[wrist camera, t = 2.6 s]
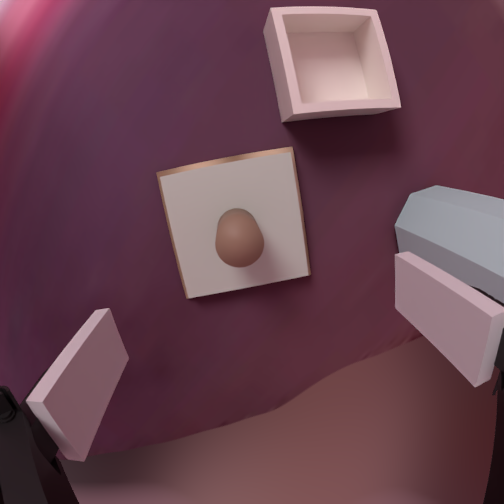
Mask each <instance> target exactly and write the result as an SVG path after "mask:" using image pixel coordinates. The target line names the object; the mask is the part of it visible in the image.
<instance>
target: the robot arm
mask: <svg viewBox="0 0 504 504" xmlns="http://www.w3.org/2000/svg"><path fill="white" fill-rule="evenodd" d="M395 308H396V309H397V310H398V311H399V312H400V313H401V314H402V315H403V316H404V317H405V318H406V319H407V320H408V321H409V322H410V323H412V324H413V325H414V326H415V327H416V328H417V329H418V330H419V331H420V332H421V333H422V334H423V335H424V336H425V337H426V338H427V339H428V340H429V341H430V342H431V343H432V344H433V345H434V346H435V347H436V348H437V349H438V350H439V351H440V352H441V353H442V354H443V355H444V356H445V357H446V358H447V359H448V360H449V361H450V362H451V363H452V364H453V365H454V366H455V367H456V368H457V369H458V370H459V371H460V372H461V373H462V374H463V375H464V376H465V377H466V378H467V380H468V381H469V382H470V383H472V385H473V386H474V387H477V386H478V385H480V384H482V383H484V382H486V381H488V380H489V379H490V378H491V375H492V371H493V368H494V365H495V366H496V367H497V368H499V369H500V373H499V376H498V379H497V382H496V385H495V388H494V391H493V394H492V395H495V393H496V391H497V390H498V395H497V416H496V428H495V439H494V447H493V455H492V461H491V467H490V473H489V478H488V484H487V488H486V493H485V498H484V502H483V504H504V303H502V302H501V301H499V300H497V299H495V298H494V297H493V296H491V295H488V293H486V292H484V291H483V290H481V289H479V288H476V287H473V286H469V285H467V284H465V283H464V282H462V281H460V280H459V279H457V278H455V277H453V276H452V275H450V274H448V273H447V272H445V271H443V270H441V269H440V268H438V267H436V266H434V265H433V264H431V263H429V262H427V261H425V260H424V259H422V258H420V257H418V256H416V255H415V254H413V253H411V252H409V251H407V252H402V253H398V254H395ZM128 359H129V357H128V355H127V352H126V350H125V348H124V345H123V343H122V340H121V338H120V335H119V332H118V330H117V327H116V325H115V322H114V319H113V316H112V314H111V311H110V308H107V309H100V310H95V312H94V313H93V314H92V315H91V316H90V318H89V319H88V320H87V321H86V322H85V324H84V325H83V326H82V327H81V329H80V330H79V331H78V332H77V333H76V335H75V336H74V337H73V338H72V340H71V341H70V342H69V343H68V345H67V346H66V347H65V349H64V350H63V351H62V352H61V354H60V355H59V356H58V358H57V359H56V360H55V361H54V363H53V364H52V365H51V367H49V368H48V369H47V370H46V371H44V373H43V374H42V375H41V377H40V378H39V379H38V380H39V381H37V382H36V383H35V385H34V387H32V389H31V390H30V392H29V393H28V394H27V396H26V397H25V399H24V400H23V401H22V403H21V404H20V406H19V404H18V403H17V401H16V399H15V398H14V396H13V395H12V393H11V391H10V390H9V388H8V387H6V386H0V504H79V502H78V500H77V498H76V496H75V494H74V492H73V490H72V488H71V485H70V483H69V481H68V479H67V476H66V474H65V472H64V470H63V467H62V465H61V462H60V461H59V459H58V458H57V457H56V456H55V455H56V453H57V451H58V449H60V451H61V452H62V453H63V454H64V456H65V457H66V458H67V459H69V460H76V461H85V459H86V456H87V454H88V451H89V449H90V446H91V444H92V441H93V439H94V436H95V434H96V432H97V429H98V427H99V424H100V422H101V420H102V417H103V415H104V413H105V410H106V408H107V406H108V403H109V401H110V399H111V396H112V394H113V392H114V390H115V387H116V385H117V383H118V381H119V379H120V376H121V374H122V372H123V370H124V368H125V366H126V363H127V361H128Z"/></svg>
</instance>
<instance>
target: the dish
mask: <svg viewBox="0 0 504 504" xmlns="http://www.w3.org/2000/svg"><path fill="white" fill-rule="evenodd" d="M263 33H264V37H265V42H266V46H267V51H268V56H269V60H270V65H271V70H272V75H273V80H274V84H275V89H276V95H277V100H278V105H279V110H280V115H281V121H282V122H290V121H298V120H307V119H317V118H327V117H339V116H353V115H371V114H378V113H382V112H385V111H389V110H393V109H397V108H401V104H400V98H399V93H398V89H397V84H396V79H395V75H394V71H393V66H392V62H391V58H390V54H389V51H388V47H387V43H386V40H385V36H384V33H383V29H382V26H381V23H380V20H379V16H378V13H377V10H372V9H361V8H347V7H278V8H270V11H269V14H268V18H267V21H266V24H265V27H264V31H263Z"/></svg>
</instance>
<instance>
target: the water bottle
mask: <svg viewBox="0 0 504 504" xmlns="http://www.w3.org/2000/svg"><path fill="white" fill-rule="evenodd" d="M395 231H396V236H397V242H398V249H399V253H402V252H407V251H409V252H411V253H413V254H415V255H416V256H418V257H420V258H422V259H424V260H425V261H427V262H429V263H431V264H433V265H434V266H436V267H438V268H440V269H441V270H443V271H445V272H447V273H448V274H450V275H452V276H453V277H455V278H457V279H459V280H460V281H462V282H464V283H465V284H467V285H469V286H473V287H476V288H479V289H481V290H483V291H484V292H486V293H488V295H491V296H493V297H494V298H495V299H497V300H499V301H501V302H502V303H504V199H500V198H495V197H491V196H487V195H482V194H477V193H473V192H468V191H463V190H458V189H453V188H448V187H443V186H437V185H436V186H433V187H430V188H427V189H424V190H421V191H418V192H415V193H412V194H410V195H409V197H408V199H407V202H406V204H405V206H404V208H403V210H402V212H401V214H400V216H399V218H398V219H397V221H396V223H395Z"/></svg>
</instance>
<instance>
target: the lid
mask: <svg viewBox="0 0 504 504" xmlns="http://www.w3.org/2000/svg"><path fill="white" fill-rule="evenodd" d="M160 180H161V185H162V190H163V194H164V199H165V204H166V208H167V213H168V217H169V222H170V226H171V230H172V235H173V239H174V243H175V247H176V251H177V255H178V259H179V263H180V267H181V271H182V275H183V279H184V283H185V286H186V290H187V294H188V297H189V298H194V297H199V296H205V295H210V294H216V293H221V292H227V291H232V290H237V289H243V288H248V287H253V286H258V285H263V284H268V283H273V282H278V281H283V280H288V279H293V278H298V277H303V276H308V267H307V259H306V251H305V244H304V236H303V229H302V222H301V215H300V208H299V201H298V195H297V188H296V182H295V175H294V169H293V163H292V157H291V152H288V153H281V154H275V155H268V156H262V157H256V158H250V159H245V160H239V161H234V162H228V163H223V164H218V165H213V166H208V167H203V168H198V169H193V170H189V171H184V172H180V173H175V174H171V175H167V176H162V177H160Z"/></svg>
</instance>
